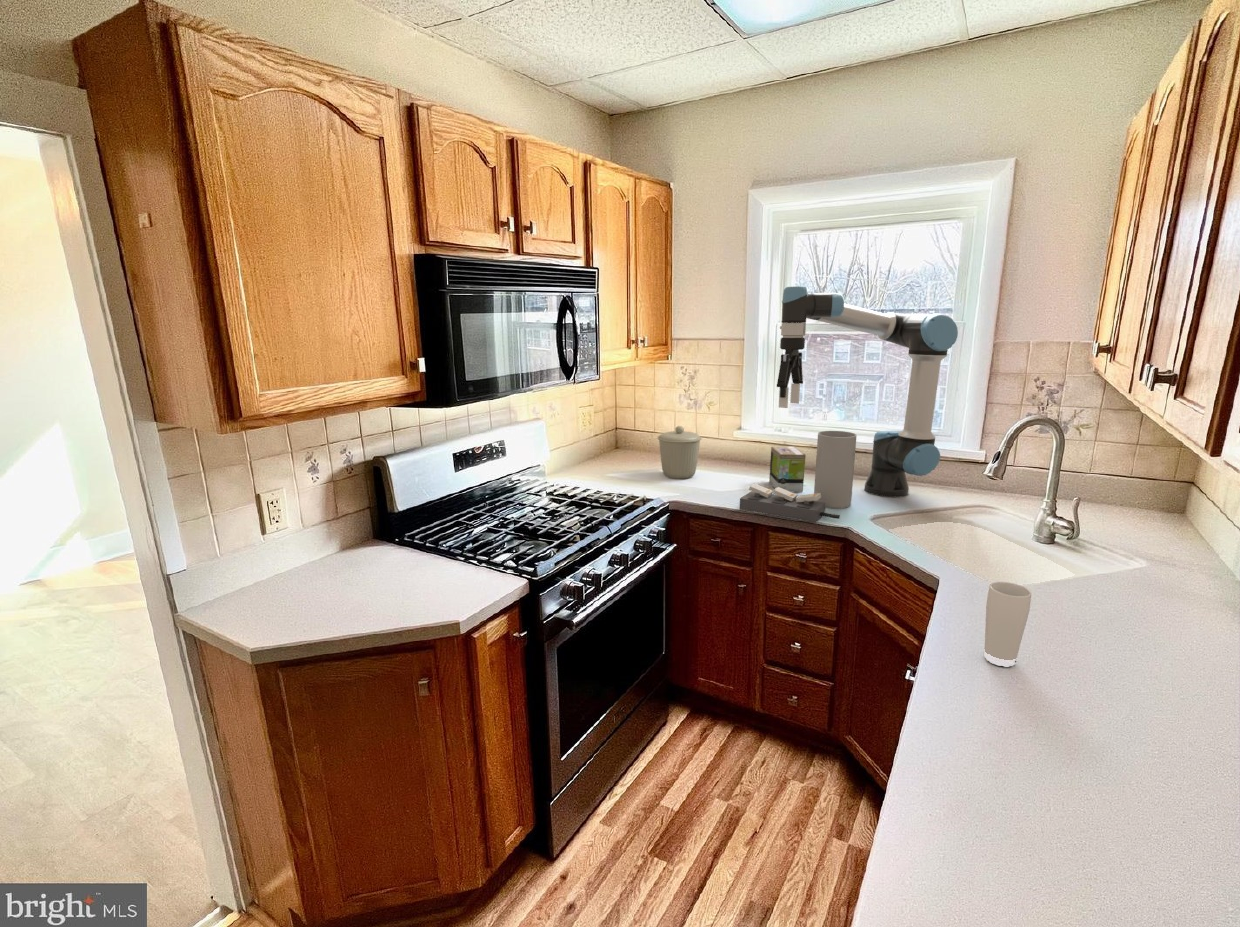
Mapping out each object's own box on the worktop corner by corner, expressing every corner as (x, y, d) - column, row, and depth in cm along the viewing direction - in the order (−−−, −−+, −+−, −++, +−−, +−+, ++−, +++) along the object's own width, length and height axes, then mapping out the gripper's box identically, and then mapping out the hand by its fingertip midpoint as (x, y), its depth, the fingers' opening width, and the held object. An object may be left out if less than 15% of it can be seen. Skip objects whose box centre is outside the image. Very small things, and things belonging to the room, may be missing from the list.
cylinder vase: (856, 508, 209) (863, 437, 203) (821, 509, 208) (826, 437, 203) (842, 498, 221) (847, 430, 215) (808, 499, 221) (812, 431, 215)
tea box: (804, 492, 229) (806, 453, 226) (777, 492, 230) (779, 454, 226) (793, 481, 244) (795, 445, 240) (768, 481, 244) (770, 445, 241)
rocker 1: (771, 496, 212) (773, 490, 211) (766, 499, 209) (768, 493, 208) (753, 488, 215) (754, 483, 215) (748, 491, 212) (750, 485, 211)
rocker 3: (821, 499, 202) (820, 492, 202) (817, 502, 199) (816, 495, 199) (801, 501, 207) (799, 494, 206) (797, 504, 203) (795, 497, 203)
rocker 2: (795, 500, 208) (797, 494, 207) (791, 503, 204) (793, 497, 203) (776, 492, 211) (778, 486, 210) (771, 495, 207) (773, 489, 206)
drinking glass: (1028, 666, 115) (1040, 593, 111) (1002, 674, 113) (1013, 599, 109) (996, 649, 121) (1006, 579, 118) (970, 655, 119) (980, 584, 115)
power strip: (843, 517, 201) (844, 501, 199) (834, 525, 192) (836, 509, 191) (750, 502, 218) (751, 487, 217) (739, 509, 210) (740, 494, 208)
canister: (689, 483, 242) (690, 431, 237) (649, 478, 251) (649, 427, 246) (707, 473, 257) (709, 424, 252) (669, 468, 266) (670, 421, 261)
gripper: (793, 335, 206) (789, 400, 211) (768, 337, 187) (765, 409, 193) (815, 335, 202) (811, 401, 207) (792, 338, 183) (788, 410, 189)
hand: (789, 405), depth 200 cm, fingers open, 11 cm apart
